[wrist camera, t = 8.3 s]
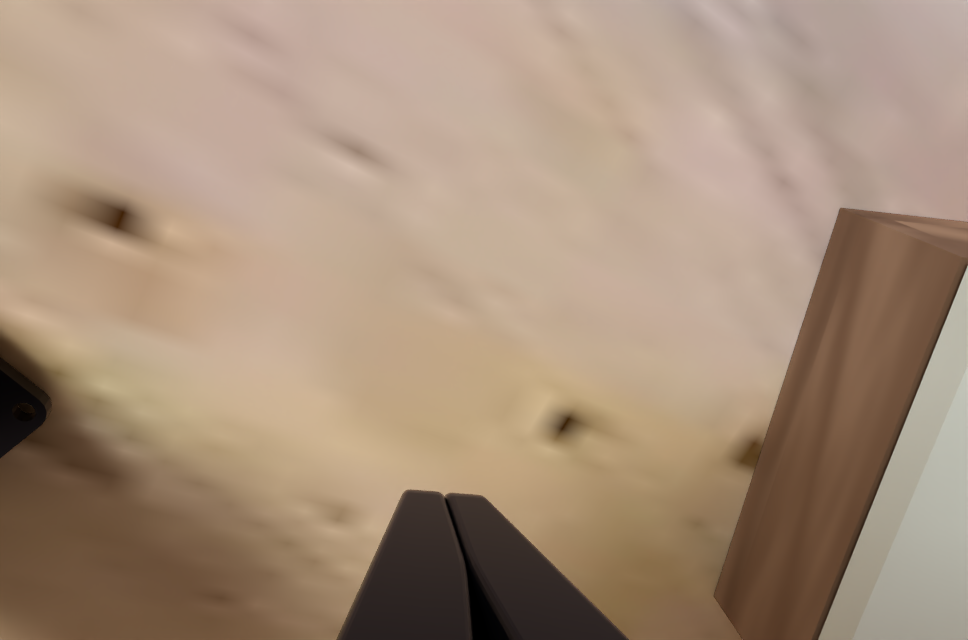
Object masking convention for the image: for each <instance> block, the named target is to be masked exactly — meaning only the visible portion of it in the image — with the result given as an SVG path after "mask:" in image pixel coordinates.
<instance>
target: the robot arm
mask: <svg viewBox="0 0 968 640" xmlns="http://www.w3.org/2000/svg"><path fill="white" fill-rule="evenodd" d="M19 403H27V404H29V405H31V406H32V407H33V408H34V409H35V413H26V412H24V411H22V410H21V409H20V408H19V407H18V404H19ZM51 407H52V404H51V401H50V398H49V397H48V396H47V394H46V393H45V392H44V391H42V390H41V389H40V388H39V387H37V386H36V385H35V384H34V383H32V382H31V381H30V380H28V379H27V378H26V377H25V376H23V375H22V374H21V373H20V372H18V371H17V370H16V369H15V368H13V367H12V366H11V365H9V364H8V363H7V362H6V361H4V360H3V359H2V358H1V357H0V458H1V457H2V456H4V455H5V454H6V453H7V452H9V451H10V450H11V449H12V448H14V447H15V446H16V445H17V444H19V443H20V442H21V441H22V440H23V439H25V438H26V437H27V436H28V435H30V434H31V433H32V432H33V431H35V430H36V429H37V428H38V427H40V426H41V425H42V424H43V422H44V421H45V420H46V418H47V417H48V415H49V413H50V412H51ZM336 640H629V639H628V638H627V637H626V636H625V635H624V634H623V633H622V632H621V631H620V630H619V629H618V628H617V627H616V626H615V625H614V624H613V623H612V622H611V621H610V620H609V619H608V618H607V617H606V616H605V615H604V614H603V613H602V612H601V611H600V610H599V609H598V608H597V607H596V606H595V605H594V604H593V603H592V602H590V601H589V600H588V599H587V598H586V597H585V596H584V595H583V594H582V593H581V592H580V591H579V590H578V589H577V588H576V587H575V586H574V585H573V584H572V583H571V582H570V581H569V580H568V579H567V578H566V577H565V576H564V575H563V574H562V573H561V572H560V571H559V570H558V569H557V568H556V567H555V566H554V565H553V564H552V563H551V562H550V561H549V560H548V559H547V558H546V557H545V556H544V555H543V554H542V553H541V552H540V551H539V550H538V549H537V548H536V547H535V546H534V545H533V544H532V543H531V542H530V541H529V540H528V539H527V538H526V537H525V536H524V535H523V534H522V533H521V532H520V531H519V530H518V529H517V528H516V527H515V526H514V525H513V524H511V523H510V522H509V521H508V520H507V519H506V518H505V517H504V516H503V515H502V514H501V513H500V512H499V511H498V510H497V509H496V508H495V507H494V506H493V505H492V504H491V503H490V502H489V501H488V500H487V499H486V498H485V497H483V496H481V495H473V494H459V493H448V494H446V495H445V496H443V494H441V493H439V492H434V491H421V490H406V491H405V492H404V493H403V494H402V496H401V498H400V501H399V503H398V505H397V507H396V510H395V512H394V514H393V516H392V518H391V521H390V523H389V525H388V527H387V529H386V532H385V534H384V536H383V538H382V540H381V543H380V545H379V547H378V549H377V551H376V554H375V556H374V558H373V560H372V562H371V565H370V567H369V569H368V571H367V573H366V576H365V578H364V580H363V582H362V584H361V587H360V589H359V591H358V593H357V595H356V598H355V600H354V602H353V604H352V606H351V609H350V611H349V613H348V615H347V617H346V620H345V622H344V624H343V626H342V628H341V631H340V633H339V635H338V637H337V639H336Z"/></svg>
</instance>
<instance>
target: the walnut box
mask: <svg viewBox="0 0 968 640" xmlns="http://www.w3.org/2000/svg"><path fill="white" fill-rule="evenodd" d="M967 266H968V222H962V221H954V220H945V219H936V218H927V217H918V216H909V215H900V214H891V213H882V212H873V211H864V210H855V209H846V208H840V211H839V214H838V217H837V220H836V223H835V226H834V229H833V232H832V235H831V239H830V242H829V245H828V248H827V251H826V254H825V257H824V260H823V263H822V266H821V269H820V272H819V275H818V278H817V281H816V285H815V288H814V291H813V294H812V297H811V300H810V303H809V306H808V309H807V312H806V315H805V318H804V321H803V324H802V327H801V330H800V334H799V337H798V340H797V343H796V346H795V349H794V352H793V355H792V358H791V361H790V364H789V367H788V370H787V373H786V376H785V379H784V383H783V386H782V389H781V392H780V395H779V398H778V401H777V404H776V407H775V410H774V413H773V416H772V419H771V422H770V425H769V428H768V432H767V435H766V438H765V441H764V444H763V447H762V450H761V453H760V456H759V459H758V462H757V465H756V468H755V471H754V474H753V478H752V481H751V484H750V487H749V490H748V493H747V496H746V499H745V502H744V505H743V508H742V511H741V514H740V517H739V520H738V523H737V527H736V530H735V533H734V536H733V539H732V542H731V545H730V548H729V551H728V554H727V557H726V560H725V563H724V566H723V569H722V572H721V576H720V579H719V582H718V585H717V588H716V591H715V594H714V597H715V599H716V600H717V602H718V603H719V605H720V606H721V608H722V609H723V611H724V612H725V614H726V615H727V617H728V618H729V620H730V621H731V623H732V624H733V626H734V627H735V629H736V630H737V632H738V633H739V635H740V636H741V638H742V639H743V640H818V639H819V636H820V634H821V631H822V629H823V626H824V624H825V621H826V619H827V616H828V614H829V611H830V609H831V606H832V604H833V601H834V599H835V596H836V594H837V591H838V589H839V586H840V584H841V581H842V579H843V576H844V574H845V571H846V569H847V566H848V564H849V561H850V559H851V556H852V554H853V551H854V549H855V546H856V544H857V541H858V539H859V536H860V534H861V531H862V529H863V526H864V524H865V521H866V519H867V516H868V514H869V511H870V509H871V506H872V504H873V501H874V499H875V496H876V494H877V491H878V489H879V486H880V484H881V481H882V479H883V476H884V474H885V471H886V469H887V466H888V464H889V461H890V459H891V456H892V454H893V451H894V449H895V446H896V444H897V441H898V439H899V436H900V434H901V431H902V429H903V426H904V424H905V421H906V419H907V416H908V414H909V411H910V409H911V406H912V404H913V401H914V399H915V396H916V394H917V391H918V389H919V386H920V384H921V381H922V379H923V376H924V374H925V371H926V369H927V366H928V364H929V361H930V359H931V356H932V354H933V351H934V349H935V346H936V344H937V341H938V339H939V336H940V334H941V331H942V329H943V326H944V324H945V321H946V319H947V316H948V314H949V311H950V309H951V306H952V304H953V301H954V299H955V296H956V294H957V291H958V289H959V286H960V284H961V281H962V279H963V276H964V274H965V271H966V269H967Z"/></svg>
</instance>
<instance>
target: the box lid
mask: <svg viewBox="0 0 968 640" xmlns="http://www.w3.org/2000/svg"><path fill="white" fill-rule="evenodd" d="M818 640H968V266H967V269H966V271H965V274H964V276H963V279H962V281H961V284H960V286H959V289H958V291H957V294H956V296H955V299H954V301H953V304H952V306H951V309H950V311H949V314H948V316H947V319H946V321H945V324H944V326H943V329H942V331H941V334H940V336H939V339H938V341H937V344H936V346H935V349H934V351H933V354H932V356H931V359H930V361H929V364H928V366H927V369H926V371H925V374H924V376H923V379H922V381H921V384H920V386H919V389H918V391H917V394H916V396H915V399H914V401H913V404H912V406H911V409H910V411H909V414H908V416H907V419H906V421H905V424H904V426H903V429H902V431H901V434H900V436H899V439H898V441H897V444H896V446H895V449H894V451H893V454H892V456H891V459H890V461H889V464H888V466H887V469H886V471H885V474H884V476H883V479H882V481H881V484H880V486H879V489H878V491H877V494H876V496H875V499H874V501H873V504H872V506H871V509H870V511H869V514H868V516H867V519H866V521H865V524H864V526H863V529H862V531H861V534H860V536H859V539H858V541H857V544H856V546H855V549H854V551H853V554H852V556H851V559H850V561H849V564H848V566H847V569H846V571H845V574H844V576H843V579H842V581H841V584H840V586H839V589H838V591H837V594H836V596H835V599H834V601H833V604H832V606H831V609H830V611H829V614H828V616H827V619H826V621H825V624H824V626H823V629H822V631H821V634H820V636H819V639H818Z"/></svg>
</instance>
